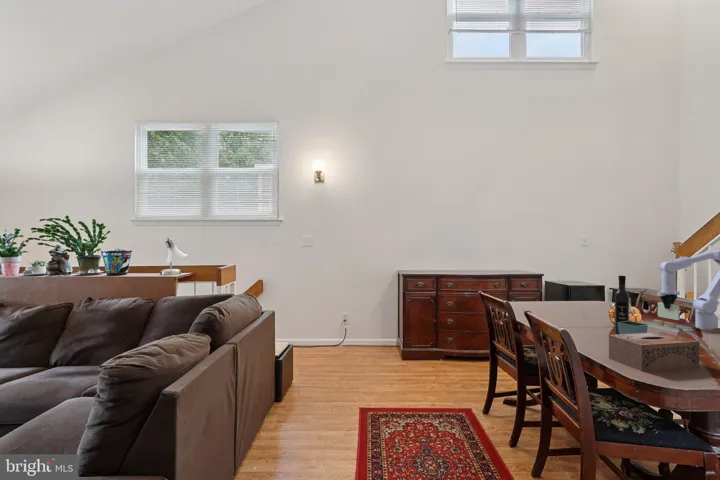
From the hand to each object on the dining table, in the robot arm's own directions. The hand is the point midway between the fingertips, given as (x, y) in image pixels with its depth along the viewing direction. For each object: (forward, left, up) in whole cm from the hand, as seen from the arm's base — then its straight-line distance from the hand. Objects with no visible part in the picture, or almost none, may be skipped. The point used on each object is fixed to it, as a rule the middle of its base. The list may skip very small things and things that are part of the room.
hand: (668, 308), depth 201 cm
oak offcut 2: (+8, +6, -9) cm, 14 cm away
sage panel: (0, 0, -5) cm, 5 cm away
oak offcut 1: (+8, 0, -9) cm, 12 cm away
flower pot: (+47, +14, -11) cm, 50 cm away
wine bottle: (+39, +3, -11) cm, 40 cm away
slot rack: (+5, +3, -10) cm, 12 cm away
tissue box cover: (+68, +37, -11) cm, 78 cm away
